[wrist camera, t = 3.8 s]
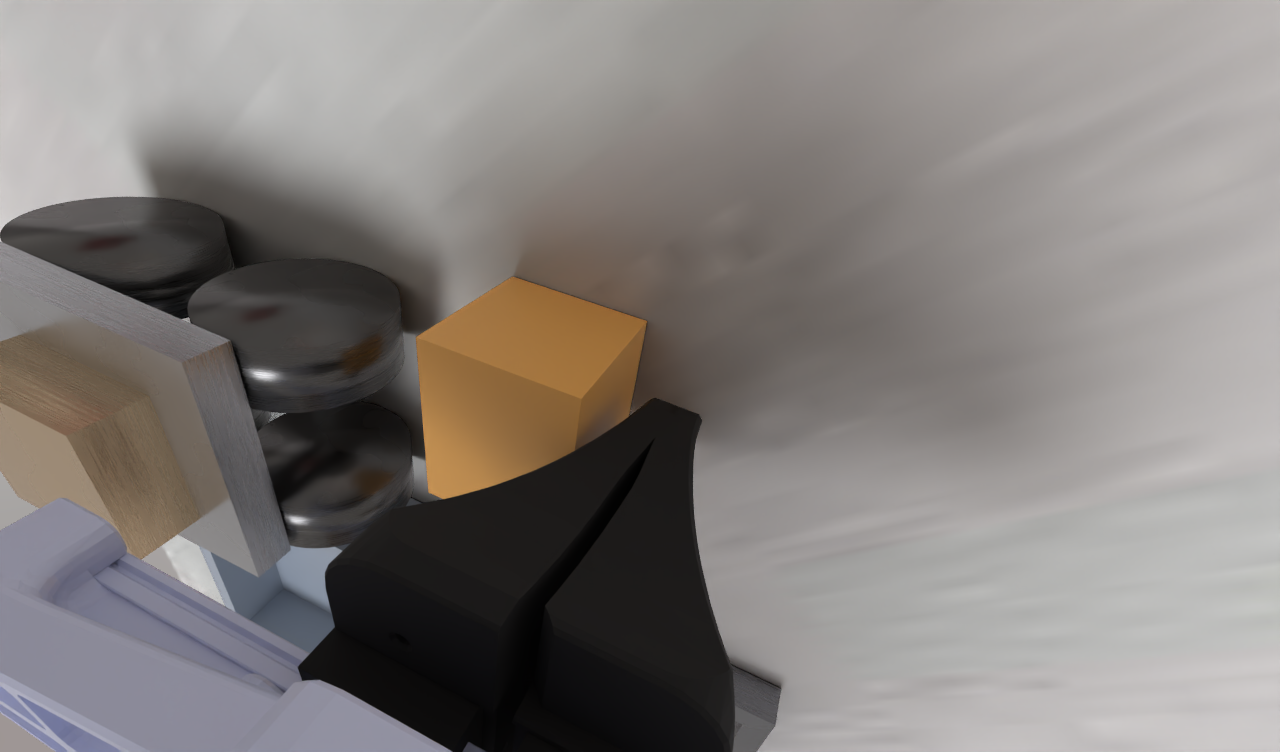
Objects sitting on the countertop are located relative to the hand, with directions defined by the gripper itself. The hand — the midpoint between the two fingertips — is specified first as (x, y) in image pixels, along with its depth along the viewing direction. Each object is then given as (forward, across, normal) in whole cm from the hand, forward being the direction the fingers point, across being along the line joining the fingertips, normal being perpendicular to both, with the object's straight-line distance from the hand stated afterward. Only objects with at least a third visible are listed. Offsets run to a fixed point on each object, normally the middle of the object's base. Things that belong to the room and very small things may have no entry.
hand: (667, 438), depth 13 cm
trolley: (+1, +12, +3) cm, 13 cm away
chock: (+1, +3, 0) cm, 3 cm away
